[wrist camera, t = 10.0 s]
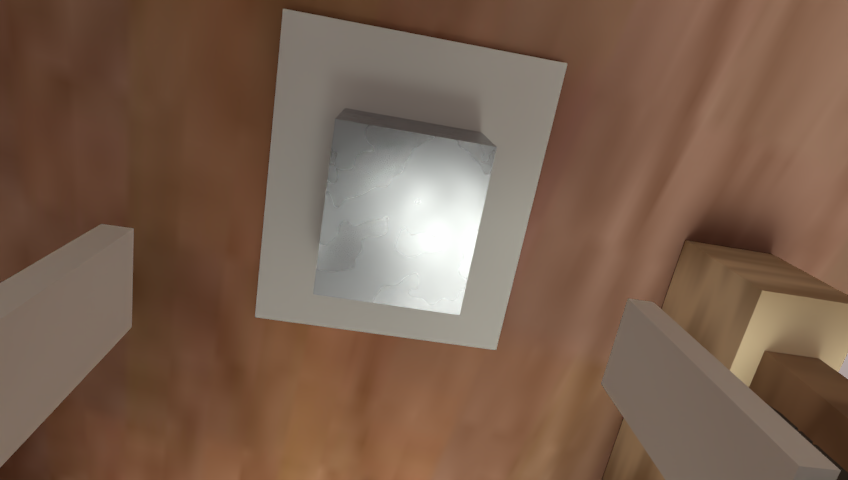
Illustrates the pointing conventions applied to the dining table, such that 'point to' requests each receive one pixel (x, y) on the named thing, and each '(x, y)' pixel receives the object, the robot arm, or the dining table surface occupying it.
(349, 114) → the lever cap
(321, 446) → the dining table surface
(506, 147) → the mat
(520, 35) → the dining table surface
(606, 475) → the wooden peg base
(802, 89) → the dining table surface
